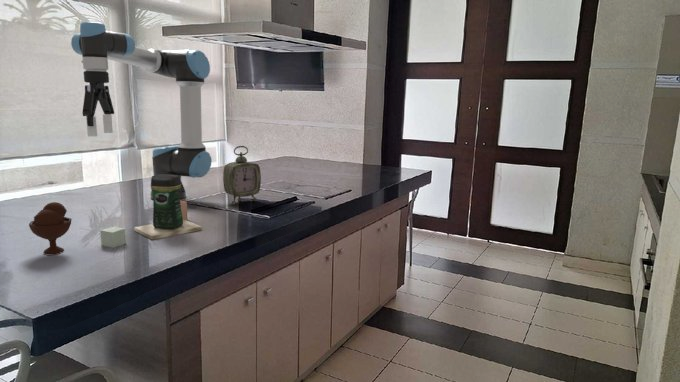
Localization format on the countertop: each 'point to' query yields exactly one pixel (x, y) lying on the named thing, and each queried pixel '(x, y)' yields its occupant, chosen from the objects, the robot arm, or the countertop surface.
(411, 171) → the countertop surface
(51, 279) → the countertop surface
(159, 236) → the birch board
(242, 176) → the tabletop clock
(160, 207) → the coffee jar
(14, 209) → the countertop surface
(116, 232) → the grey-green block
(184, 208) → the terracotta cup
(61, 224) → the ice cream bowl
